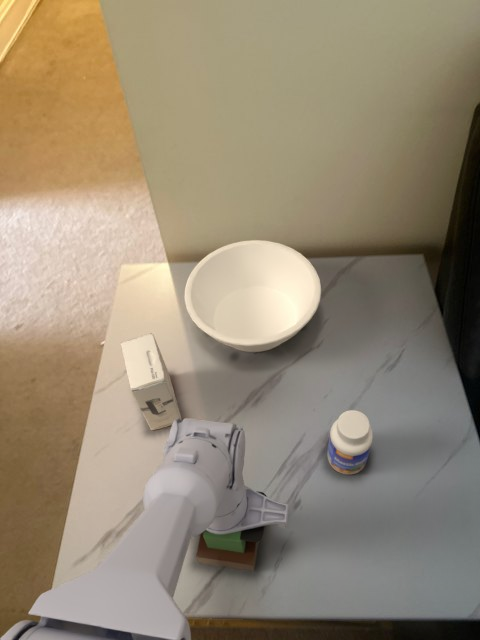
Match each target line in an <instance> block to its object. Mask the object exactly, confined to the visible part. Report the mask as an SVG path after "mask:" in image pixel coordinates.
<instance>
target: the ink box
mask: <svg viewBox="0 0 480 640" xmlns="http://www.w3.org/2000/svg"><path fill="white" fill-rule="evenodd" d="M120 347H121V351H122V356H123V360H124V365H125V369H126V374H127V379H128V383H129V388H130V391H131V394H132V395H133V397H134V400H135V401H136V403H137V405H138V407H139V409H140V411H141V414H142V415H143V417H144V419H145V421H146V423H147V425H148V427H149V429H150V431H156V430H159V429H163V428H167V427H170V426H172V424H173V422H174V420H176V419H177V418H180V419H181V421H183V419H182V415H181V412H180V411H181V410H180V408H179V404H178V401H177V398H176V397H177V396H176V394H175V390H174V386H173V383H172V379H171V376H170V373H169V370H168V368H167V365H166V363H165V360H164V357H163V354H162V353H161V350H160V348H159V344H158V343H157V340H156V337H155V335H154V334H153V333H152V332H149V333H147V334H143V335H140V336H137V337H134V338H130V339H127V340H124V341H122V342H120Z"/></svg>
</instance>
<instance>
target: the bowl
mask: <svg viewBox="0 0 480 640" xmlns="http://www.w3.org/2000/svg"><path fill="white" fill-rule="evenodd" d="M321 296H322V285H321V280H320V277H319V275H318V272H317V269H316V268H315V267H314V266H313V264H312V263H311V262H310V260H309V259H308V258H306V257H305V256H304V255H303V254H302V253H301V252H299V251H297V250H296V249H294V248H292V247H290V246H287V245H285V244H282V243H279V242H275V241H270V240H258V239H254V240H253V239H252V240H242V241H237V242H233V243H229V244H227V245H224V246H222V247H218V248H217V249H216V250H214V251H213V250H212V251H211V252H210V253H208V254H207V255H206V256H205V257H203V258H202V259H201V260H200V261H199V262H198V263H197V264H196V265H195V267H194V268H193V269H192V271H191V273H190V274H189V276H188V278H187V281H186V284H185V287H184V304H185V307H186V311H187V313H188V315H189V316H190V319H191V320H192V321H193V323H195V325H196V326H197V327H198V328H199V329H200V330H201V331H202V332H204V333H205V334H206V335H208V336H209V337H211V338H212V339H214V340H215V341H216V342H219V343H220V344H223V345H225V346H227V347H230V348H233V349H235V350H238V351H241V352H245V353H246V352H247V353H260V352H265V351H270V350H272V349H274V348H277V347H278V346H280V345H282V344H283V343H285V342H287V341H289V340H290V339H292V338H293V337H295V336H296V335H297V334H298V333H299V332H300V331H301V330H302V329H303V328H304V327H305V326H306V325H307V324H308V323H309V322H310V321H311V320H312V318H313V316H314V315H315V313H316V312H317V310H318V307H319V304H320V302H321Z"/></svg>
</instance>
